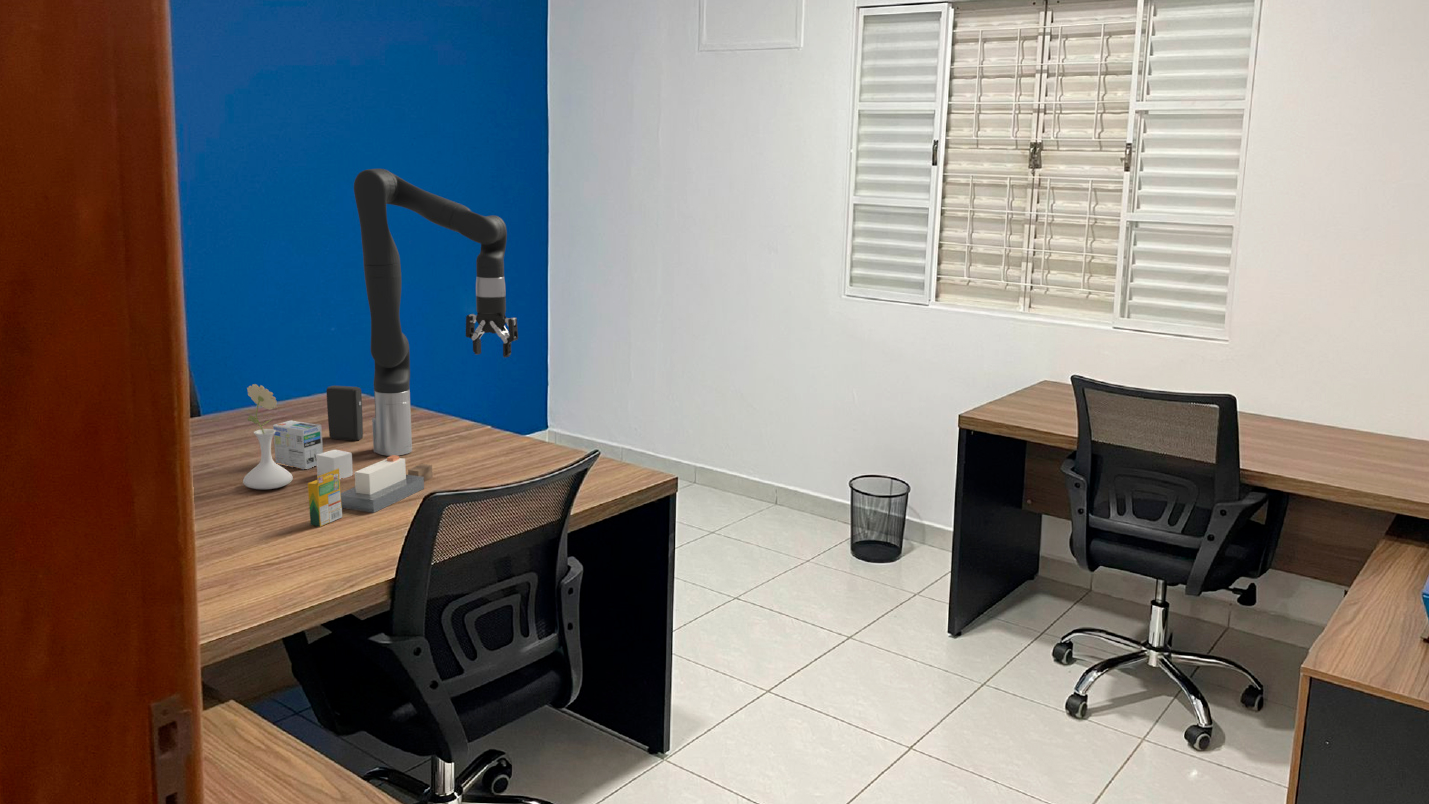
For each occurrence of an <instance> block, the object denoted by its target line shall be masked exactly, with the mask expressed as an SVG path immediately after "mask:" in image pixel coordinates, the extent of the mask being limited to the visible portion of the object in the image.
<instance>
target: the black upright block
mask: <svg viewBox="0 0 1429 804" xmlns="http://www.w3.org/2000/svg"><path fill="white" fill-rule="evenodd" d="M325 392H326V404H327V421H328V435H329V438H330V439H332V440H340V441H341V440H342V441H343V440H344V441H355V440H356V441H359V440H361V439H363V437H364V427H363V426H364V419H363V400H362V389H361V388H360V387H358V386H347V385H330V386H328V387H327V388H326V391H325Z"/></svg>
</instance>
